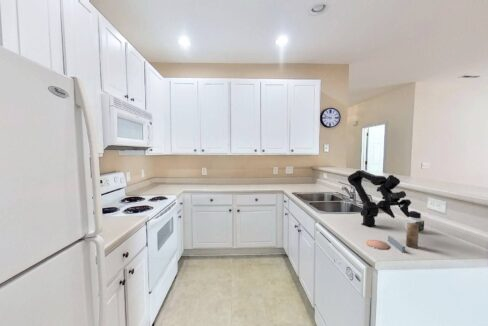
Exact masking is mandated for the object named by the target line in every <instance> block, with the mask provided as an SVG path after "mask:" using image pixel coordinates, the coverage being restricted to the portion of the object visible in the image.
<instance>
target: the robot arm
mask: <svg viewBox="0 0 488 326" xmlns="http://www.w3.org/2000/svg"><path fill="white" fill-rule="evenodd" d="M363 179H365V180H367V181H370V183H371V184H372V185H373V186H377V187H376V192H380V194H381V196H382V198H381V199H382V200H379V202H377V203H376V202H375V201H374V202H372V201H371V200H370V198H369V196H368V194H367V192H366V190H365V189H364V186H363V185H362V182H363ZM347 181H348V183H349V184H350V186H352V187H354V189H355V191H356V192H357V196H358V197H359V199H360V200H361V202H362V210H361V211H360V216H361V217H362V218H363V219H362V223H360V224H361V225H362V226H366V227H368V228H371V227H372V228H373V227H376V226H377V224H376V218H377V217H378V214H379V211H382V212H384V213H385V214H387V215H388V216H390V217H391V218H392V219H396V216H395V214H394V212H393V211H392V209H391V206H398V208H399V210H400V211H401V212H402V213H403V214H404V215H405V217H406V218H409V217H410V216H409V212H410V211H409V206H410V205H411V204H412V201H411V200H410V199H408V198H407V199H404V198H406V197H407V193H406V192H405V191H404V190H401V191H399V192H398V191H397V192H393V191H392V190H395V188H396V187H397V186H399V185H400V183H401V180H400V178H398V177H396V176H395V175H393V174H389V175H388V177H386V176H384V175H376V174H372V173H370V172H367V171H365V170H362V169H361V170H357V171H355V172H353V173H351V174H349V175H348V176H347ZM375 217H376V218H375Z"/></svg>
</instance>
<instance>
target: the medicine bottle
mask: <svg viewBox="0 0 488 326" xmlns="http://www.w3.org/2000/svg"><path fill="white" fill-rule="evenodd" d="M421 215H422V213H421V212H419V211H416V210H410V211H409V216H410V217H406V218H404V230H406V231H407V223H415V224H418V225H419V233H423V232H425V229H424V228H425V220H423V219H421V218H422V216H421Z"/></svg>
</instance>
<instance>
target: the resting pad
mask: <svg viewBox="0 0 488 326" xmlns="http://www.w3.org/2000/svg"><path fill="white" fill-rule="evenodd" d="M365 244H366V245H367V246H368V245H369V246H368V247H370V246H371V247H370V248H372V247H374V248H373V249H376V248H378V249H377V250H388V249H390V244H388V243H387V242H385V241H382V240H378V239H367V240H365Z"/></svg>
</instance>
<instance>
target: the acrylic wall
mask: <svg viewBox="0 0 488 326" xmlns="http://www.w3.org/2000/svg"><path fill="white" fill-rule="evenodd" d="M387 242H388V243H389V244H390V245H392V246H393V247H394V248H396V249H397V250H398V251H400V253H406V251H405V248H406V245H405V246H404V245H403V244H401V242H399V241H397V240H396V239H395V238H394V237H392V236H391V235H387Z"/></svg>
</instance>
